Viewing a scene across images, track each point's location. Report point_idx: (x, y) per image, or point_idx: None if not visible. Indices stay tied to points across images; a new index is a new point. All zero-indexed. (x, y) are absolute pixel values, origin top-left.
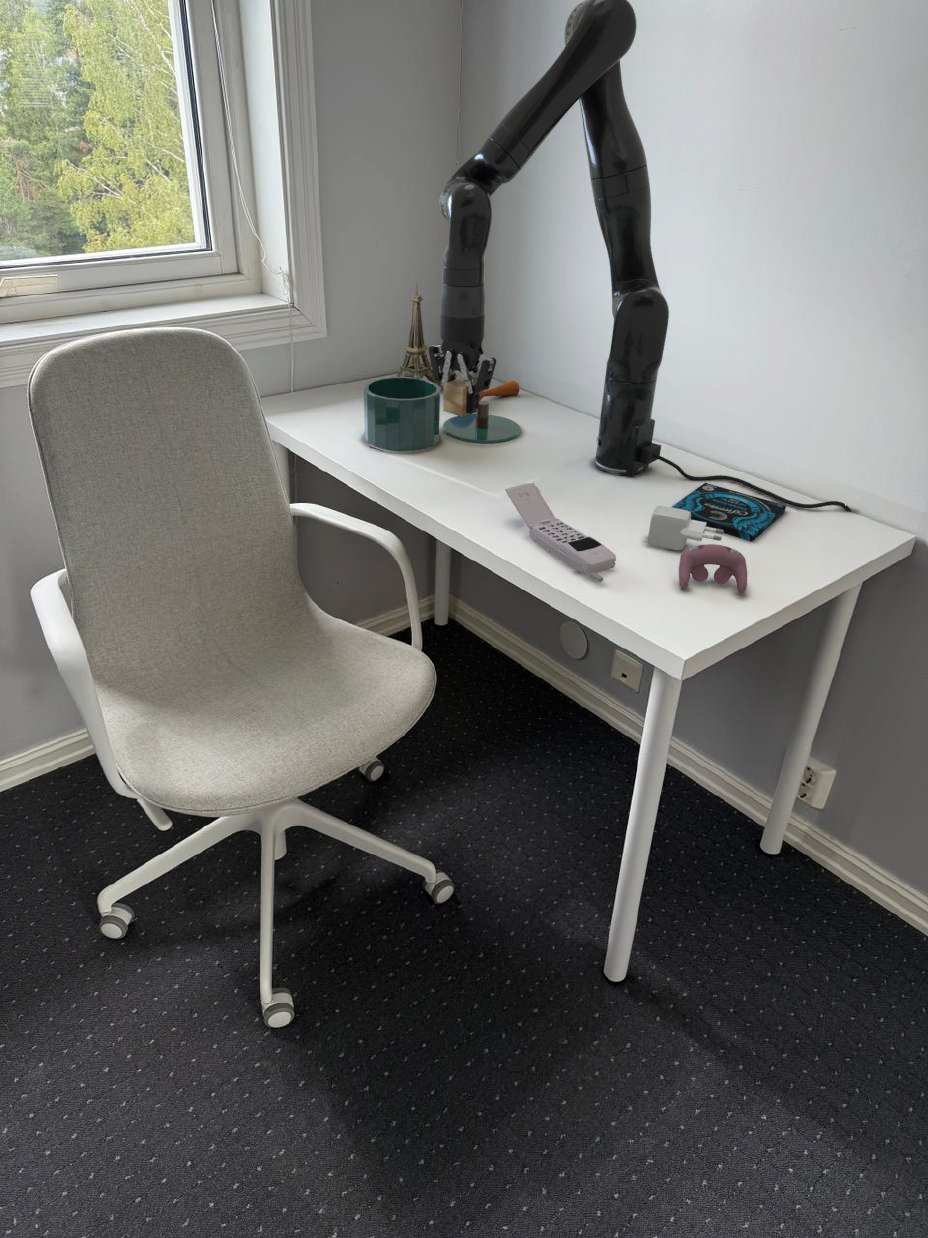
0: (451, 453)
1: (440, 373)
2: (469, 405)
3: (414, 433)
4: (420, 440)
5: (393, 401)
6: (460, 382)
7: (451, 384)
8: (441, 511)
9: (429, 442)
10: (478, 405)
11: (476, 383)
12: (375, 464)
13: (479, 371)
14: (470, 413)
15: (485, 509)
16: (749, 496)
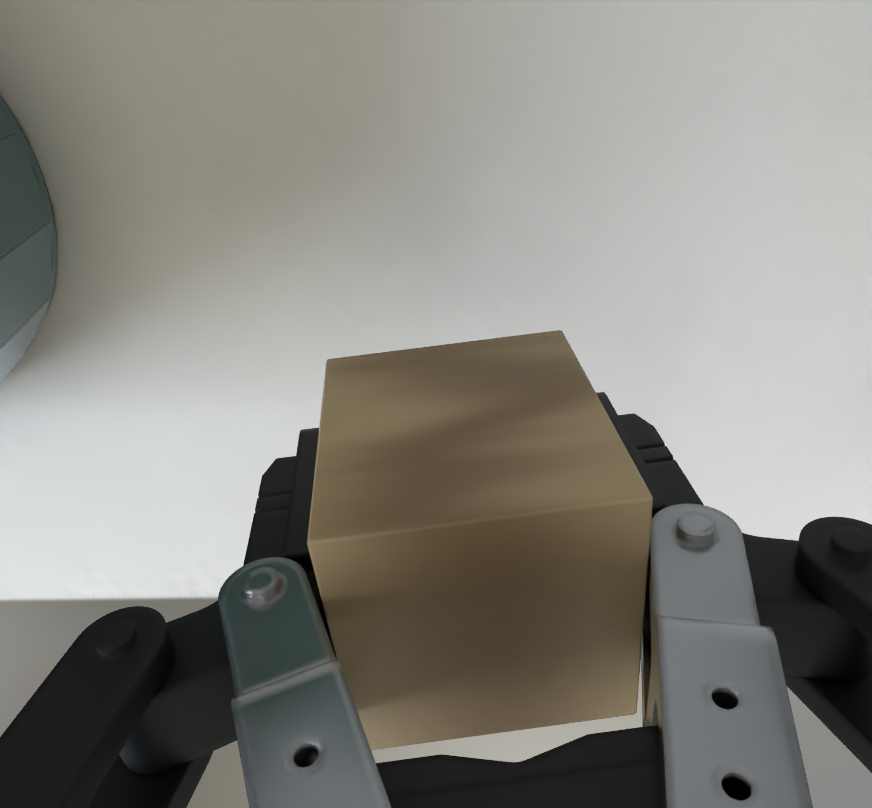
0: (165, 95)
1: (163, 756)
2: None
3: (6, 330)
4: (30, 270)
5: None
6: (458, 627)
7: (444, 719)
8: None
9: (22, 183)
10: (661, 442)
11: (831, 726)
12: (115, 505)
13: (779, 678)
14: None
15: (782, 431)
16: None
